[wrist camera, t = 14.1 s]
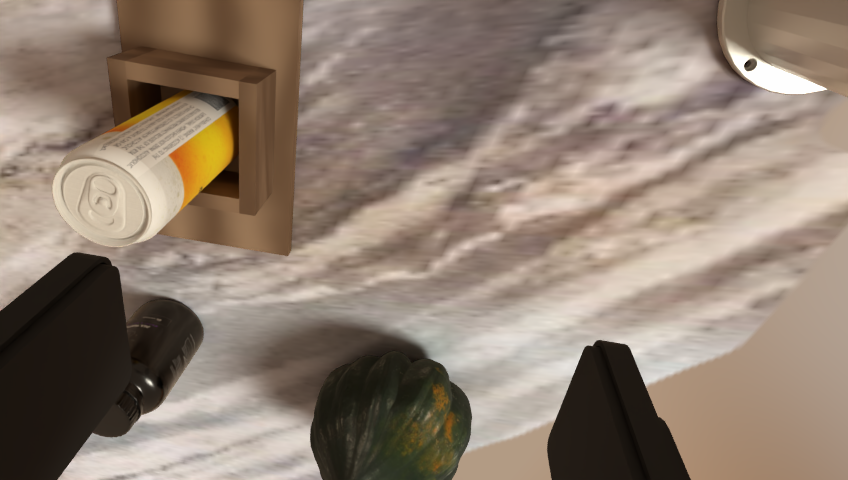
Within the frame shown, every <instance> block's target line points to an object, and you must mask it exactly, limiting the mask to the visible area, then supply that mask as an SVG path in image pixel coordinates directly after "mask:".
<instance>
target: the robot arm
mask: <svg viewBox="0 0 848 480" xmlns="http://www.w3.org/2000/svg"><path fill="white" fill-rule="evenodd" d="M717 29H718V37H719V42H720V45H721V48H722V51H723V54H724V56H725V58H726V59H727V61H728V62H729V64H730V65H731V67H732V69H733V70H735V71H736V72H737V73H738V74H739V75H740V76H741V77H742V78H743V79H745V80H746V81H748V82H750V83H751V84H753V85H755V86H757V87H759V88H762V89H764V90H767V91H769V92H774V93H780V94H785V95H796V94H808V93H813V92H819V91H823V90H826V89H828V90H831V91H833V92H835V93H838V94H840V95H843V96H845V97H848V0H719V4H718V15H717ZM747 60H748V63H747V65H745V66H744V64H745V62H746V61H747ZM131 374H132V364H131V356H130V349H129V341H128V334H127V326H126V319H125V312H124V304H123V297H122V289H121V282H120V274H119V270H118V268H117V267H115V266H112V264H111V261H110V260H109V259H108V258H106V257H102V256H96V255H90V254H84V253H78V252H77V253H73V254H71V255H69V256H68V257H67V258H65V259H64V260H63V261H62V262H60V263H59V264H58V265H57V266H56V267H54V268H53V269H52V270H51V271H49V272H48V273H47V274H46V275H44V276H43V277H42V278H41V279H40V280H38V281H37V282H36V283H35V284H33V285H32V286H31V287H30V288H28V289H27V290H26V291H25V292H23V293H22V294H21V295H20V296H19V297H17V298H16V299H15V300H14V301H12V302H11V303H10V304H9V305H7V306H6V307H5V308H4V309H3V310H1V311H0V480H57V479H58V478H59V477H60V475H61V474H62V473H63V471H64V470H65V469H66V467H67V466H68V465H69V463H70V462H71V461H72V459H73V458H74V456H75V455H76V454H77V452H78V451H79V450H80V448H81V447H82V446H83V444H84V443H85V442H86V440H87V439H88V438H89V436H90V435H91V434H92V432H93V431H94V430H95V428H96V427H97V426H98V424H99V423H100V422H101V420H102V419H103V418H104V416H105V415H106V414H107V412H108V411H109V409H110V408H111V407H112V405H113V404H114V403H115V401H116V400H117V399H118V397H119V396H120V395H121V393H122V392H123V391H124V389H125V388H126V386H127V385H128V383H129V381H130V378H131ZM547 452H548V460H549V466H550V472H551V478H552V480H691V479H690V477H689V475H688V472H687V470H686V468H685V465H684V463H683V460H682V458H681V456H680V454H679V451H678V449H677V446H676V444H675V442H674V439H673V437H672V435H671V432H670V430H669V428H668V426H667V425H666V423H665V421H664V420H662V419H661V418H660V417H658V416H657V413H656V411H655V409H654V406H653V404H652V401H651V399H650V397H649V394H648V391H647V389H646V387H645V384H644V382H643V379H642V377H641V375H640V372H639V370H638V367H637V365H636V362H635V360H634V358H633V355H632V353H631V350H630V348H629V347H628V346H627V345H626V344H620V343H614V342H608V341H602V340H598V341H596V342H595V343H594V345H593V346H586V347H585V348H584V350H583V353H582V355H581V358H580V360H579V363H578V365H577V368H576V370H575V373H574V375H573V378H572V380H571V383H570V385H569V388H568V390H567V393H566V395H565V398H564V400H563V403H562V405H561V408H560V410H559V413H558V415H557V418H556V420H555V423H554V425H553V428H552V430H551V433H550V436H549V439H548V446H547Z"/></svg>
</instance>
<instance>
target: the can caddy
mask: <svg viewBox="0 0 848 480" xmlns="http://www.w3.org/2000/svg"><path fill="white" fill-rule="evenodd" d="M117 9H118V18H119V28H120V37H121V47H122V53H119V54H116V55H113V56H111V57H108V58H107V64H108V72H109V81H110V89H111V97H112V106H113V114H114V123H115V127H116V126H118V125H120V124H122V123H124V122H126V121H127V120H129V119H131V118H133V117H135V116H137V115H138V114H140V113H142V112H144V111H146V110H148V109H150V108H151V107H153V106H155V105H157V104H159V103H161V102H162V101H164V100H166V99H168V98H170V97H172V96H173V95H175V94H177V93H179V92H181V91H183V90H191V91H197V92H202V93H208V94H214V95H219V96H225V97H229V98H230V99H232V100H233V101H234V102H235V104H236V105H237V106H238V107H239V155H238V156H237V157H236V158H235V159H234V160H233V161H232V162H231V163H230V164H229V165H227V166H226V167H225V168H224V169H223V170H222V171H221V172H220V173H219V174H218V175H217V176H216V177H215V178H214V179H213V180H212V181H211V182H210V183H209V184H208V185H207V186H206V187H205V188H204V189H203V190H202V191H200V192H199V193H198V194H197V195H196V196H195V197H194V198H193V199H192V200H191V201H190V202H189V203H188V204H187V205H186V206H185V207H184V208H183V209H182V210H181V211H180V212H179V213H178V214H177V215H176V216H175V217H174V218H172V219H171V220H170V221H169V222H168V223H167V224H166V225H165V226H164V227H163V228H162V229H161V230H160V231H159V232H158V233H157V234H161V235H167V236H173V237H179V238H185V239H191V240H197V241H202V242H208V243H214V244H220V245H226V246H232V247H238V248H244V249H250V250H255V251H261V252H267V253H273V254H279V255H285V256H288V255H289V253H290V251H291V240H292V220H293V200H294V180H295V160H296V140H297V120H298V100H299V79H300V59H301V39H302V19H303V0H117Z"/></svg>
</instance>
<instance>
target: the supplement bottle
mask: <svg viewBox="0 0 848 480" xmlns="http://www.w3.org/2000/svg"><path fill="white" fill-rule="evenodd" d="M126 326H127V334H128V341H129V349H130V356H131V364H132V374H131V378H130V381H129V383H128V385H127V386H126V388H125V389H124V391H123V392H122V393H121V395H120V396H119V397H118V399H117V400H116V401H115V403H114V404H113V405H112V407H111V408H110V409H109V411H108V412H107V414H106V415H105V416H104V418H103V419H102V420H101V422H100V423H99V424H98V426H97V427H96V428H95V430H94V431H93V433H94V434H98V435H100V436H105V437H118V436H122V435H124V434H126V433H127V432H128V431H129V430H130V429H131V427H132V426H133V425H134V423H135V422H136V421H137V420H138V419H139V418H140V416H141V415H143V414H147V413H149V412H152V411H153V410H155V409H157V408H158V407H159V406H160V405H161V404H162V403H163V401H164V400H165V399H166V397H167V396H168V394H169V393H170V391H171V390H172V388H173V387H174V385H175V384H176V382H177V381H178V379H179V377H180V376H181V374H182V373H183V371H184V370H185V368H186V367H187V365H188V364H189V362H190V361H191V359H192V358H193V356H194V355H195V353H196V352H197V350H198V348H199V347H200V345H201V343H202V341H203V336H204V332H203V327H202V324H201V322H200V320H199V318H198V317H197V316H196V315H195V313H194V312H193V311H191V310H190V309H189V308H187V307H186V306H184V305H182V304H180V303H178V302H175V301H172V300H165V299H159V300H153V301H150V302H147V303H145V304H144V305H142V306H141V307H140V308H139V309H138V310H137V311H136V312H135V313H134V314H133V316H132V317H131V318H130V319H129V320H128V321H127V322H126Z"/></svg>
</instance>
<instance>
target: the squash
mask: <svg viewBox="0 0 848 480" xmlns="http://www.w3.org/2000/svg"><path fill="white" fill-rule="evenodd" d="M471 420H472V413H471V408H470V404H469V400H468V398H467V396H466V395H465V393H464V392H463V391H462V390H461V389H460V388H459V387H458V386H457V385H455V384H454V383H452V382H451V381H449V376H448V373H447V371H446V369H445V368H444V366H443V365H441V364H440V363H438V362H435V361H433V360H431V359H419V360H416V361H415V362H413V363H411V361H410V360H409V358H408V357H407V356H406V355H404V354H403V353H401V352H397V351H391V352H388V353H386V354H385V355H383V356H382V357H381V358H380V357H377V356H364V357H362V358H359V359H358V360H356V361H355V362H354V363H352V364H347V365H343V366H341V367H339V368H337V369H335V370H334V371H333V372H332V373H331V374H330V375H329V377H328V378H327V379H326V381H325V382H324V384H323V386H322V388H321V391H320V393H319V396H318V400H317V403H316V407H315V412H314V419H313V422H312V425H311V433H310V442H311V448H312V451H313V454H314V457H315V460H316V462H317V464H318V467H319V470H320V474H321V477H322V479H323V480H452V478H453V476H454V475H455V473H456V470H457V468H458V463H459V460H460V458H461V456H462V454H463V453H464V451H465V449H466V447H467V445H468V442H469V439H470V435H471Z"/></svg>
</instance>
